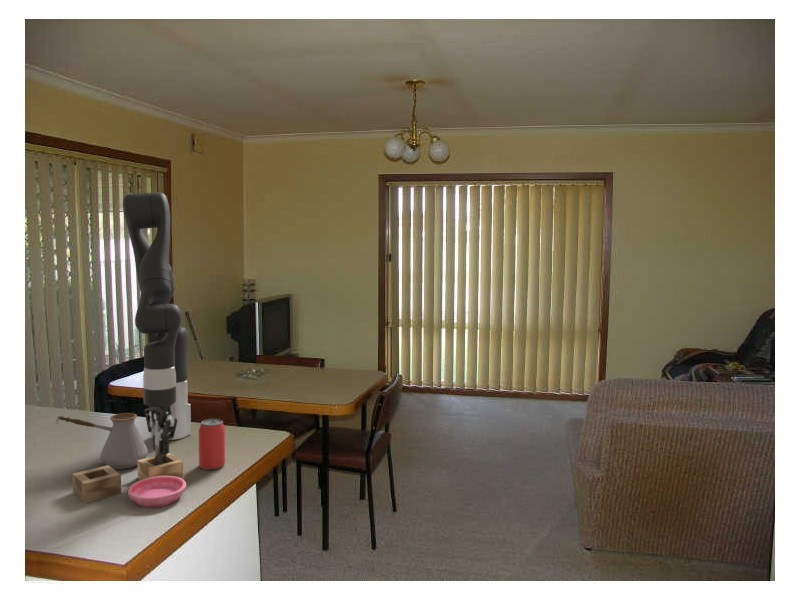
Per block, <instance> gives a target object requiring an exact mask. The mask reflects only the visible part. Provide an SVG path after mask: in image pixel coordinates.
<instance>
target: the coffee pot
mask: <svg viewBox="0 0 800 600" xmlns="http://www.w3.org/2000/svg"><path fill="white" fill-rule="evenodd" d="M137 417H138V415H137V414H136V413H133V412H121V413H117V414H113V415H112V416H110V418H109V420H110V421H111V422H112V426H106V425H101V424H96V423H92V422H91V421H90V422H89V421H87V420H86V421H85V420H82V419H79V418H78V419H76V418H70V417H69V416H68V417H64V416H62V415H61V416H58V417H57V418H56V421H55V425H57V424H59V420H60V421H65V422H66V423H69V422H70V423H73V424H75V425H78V426H83V427H84V426H86V427H89V428H95V429H101V430H104V431H109V434H108V436H107V438H106V441H105V443H104V445H103V447H102V450H101V452H100V455H99V458H100V460H101V461H102V462H103V464H105V466H107V465H108V466H110V467H111V468H113V469H114V470H121V469H130V468H133V467H137V466H138V462H137V460H141V459H145V458H147V457H146V456H147V455H148V452H149V450H148V447H147V445H146V444H145V441H144V439H143V437H142V435H141V434H140V431H139V428H137V425H136V424H135V420H136V418H137Z"/></svg>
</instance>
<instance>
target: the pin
mask: <svg viewBox="0 0 800 600" xmlns="http://www.w3.org/2000/svg"><path fill="white" fill-rule="evenodd" d="M161 427H164V426H161ZM161 427H160V428H161ZM154 431H155V451H154V456H155V465H156V466H157V465H161V464H165V463H167V454H165V455H160V454H159V434H158V431H156V425H155V426H154ZM162 435H163V431H162Z"/></svg>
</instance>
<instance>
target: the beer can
mask: <svg viewBox="0 0 800 600" xmlns="http://www.w3.org/2000/svg"><path fill="white" fill-rule="evenodd" d="M225 464H226V429H225V425H224V421H223V420H222V419H220V418H208V419H204V420H202V421H201V422H200V426H199V428H198V465H199V467H200V468H201V469H203V470H209V471H210V470H217V469H220V468H222V467H224V465H225Z"/></svg>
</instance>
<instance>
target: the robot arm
mask: <svg viewBox="0 0 800 600" xmlns="http://www.w3.org/2000/svg"><path fill="white" fill-rule="evenodd" d="M122 208H123V209H122V210H123V215H124V218H125V224H126V227H127V231H128V234H129V238H130V241H131V242H130V243H131V247H132V250H133V256H134V262H135V263H134V264H135V269H136V276H137V281H138V282H137V283H138V287H139V291H140V295H139V296H140V297H139V302H138V306H137V310H136V313H135V317H134V325H135V328H136V329H137V331H138V332H140V333H141V334H146V338H147V344H145V346H144V347H143V375H142V376H143V377H142V379H143V380H142V382H143V383H142V384H143V385H142V386H143V387H142V388H143V405H145V406H146V407H148V408H145V409H144V416H145V421H146V426H147V430H148V432H149V433H150V434H151V437H152V447H153V451H154V452H155V431H154V426H155V425H156V431H158V434H159V454H160V455H165V454H168V453H170V441H173V440H174V441H175V440H180V439H183V438H186V437H187V436H190V435H192V433H191V432H192V431H191V430H192V429H191V428H192V427H191V426H192V424H191V423H192V422H191V420H192V417H191V415H192V413H191V408H192V407H191V403H189V402H188V401H189V400H188V399H189V397H188V391H189V389H188V372H189V371H188V370H189V369H188V368H189V348H190V347H189V342H190V341H189V339H190V338H189V331H188V330H187V329H186V327H181V324H182V320H183V313H182V310H181V309H180V307H179V306H178V305H177V304H174V303H170V302H171V300H172V298H173V296H174V293H175V289H176V288H175V287H176V286H175V279H174V273H173V269H172V266H171V264H170V245H171V244H170V242H171V211H170V209H171V208H170V205H169V201H168V197H167V195H165V193H164V192H160V191H159V192H141V193H139V192H137V193H135V192H134V193H128V194H125V195H124V196H123V200H122ZM154 228H156V229H157V230H156V234H155V237H154V239H153V241H152V243H150V242H149V240H148V239H147V237H146V235H145V234H144V232H143V230H144V229H154ZM161 426H164V427H161ZM160 427H161V428H160ZM162 431H163V435H162Z"/></svg>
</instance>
